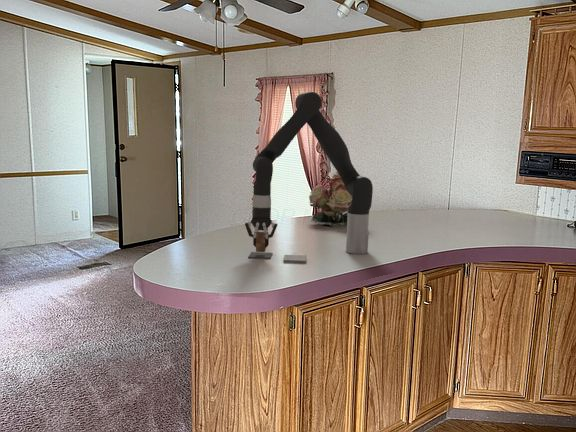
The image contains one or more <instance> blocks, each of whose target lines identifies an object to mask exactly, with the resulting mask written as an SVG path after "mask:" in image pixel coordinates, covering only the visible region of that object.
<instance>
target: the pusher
mask: <svg viewBox="0 0 576 432" xmlns="http://www.w3.org/2000/svg"><path fill="white" fill-rule="evenodd" d="M266 250H267V248H265V233H264V231H262V230H258V232H256V247H255V252H266Z"/></svg>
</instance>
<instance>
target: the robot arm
mask: <svg viewBox="0 0 576 432" xmlns="http://www.w3.org/2000/svg"><path fill="white" fill-rule="evenodd" d="M296 96H297V97H296V98H295V101H294V102H295V105H294V106H295V108H296V110H295V112H294V113H293V114H292V116H291V117H290V118H289V119H288V120H287V121H286V122H285V124H283V125H282V126H281V127H280V128H279V129H278V130H277V131H276V132H275V134H274V135H273V136H272V138H271V139H270V141H268V143H267V145H266V146H265V147H264V148H263V149H262V150H261V151H260V152H259V153H258V155H256V157H255V158H254V159H253V161H252V169H253V171H254V172H255V181H254V182H253V196H252V204H251V205H252V210H251V211H252V214H251V215H252V217H251V220H250V221H246V222H245V224H244V226H245V229H246V231H247V235H248V236H249V237H251V238H252V240H253V242H252V243H253V244H252V246H254V248H256V232H258V231H264V233H265V248H266V249H267V248H268V247H269V243H270V238H273V237H274V235H275V232H276V230H277V228H278V223H277V222H274V221H272V218H271V216H272V212H271V210H272V197H271V194H272V185H271V184H272V179H273V173H274V166H273V163H274V161H275V160H276V159H277V158H280V157H281V156H282V155H283V153H284V152H285V150H286V149H287V148H288V147H289V145H290V144H291V142H293V140H294V138H295V137H296V136H297V135H298V133H299V132H300V131H302V130H301V129H303V128H304V127H305V125H306V124H307V125H308V126H309V128H310V130H311V131H312V133H313V135H314V137H315V138H316V140H317V142H318V143H319V145H320V147H321V148H322V151H323V152H324V153H325V156H326V157H327V158H328V160H329V161H330V163H331V165H332V166H333V168H334V169H335V170H336V172H338V173H339V175H340V177H341V179H342V181H343V183H344V185H345V187H346V189H347V191H348V193H349V194H350V195H352V203H351V205H350V206H349V207H348V218H347V226H346V239H345V240H346V242H345V243H346V244H345V251H346V252H347V253H349V254H355V255H363V254H365V255H366V254H368V252H369V233H370V232H369V224H370V223H369V222H370V221H369V219H370V209H371V208H372V203H373V202H372V201H373V192H374V191H373V189H374V188H373V187H374V186H373V183H372V180H371V179H369V177H366V176H362V175H360V174H359V172H358V171H357V170H356V168H355V167H354V165H353V163H352V159H351V156H350V152H349V149H348V147H347V144H346V143H345V141H344V140H343V138H342V136H341V134H340V133H339V132H338V131H337V130H336V129H335V128H334V127H333V125H331V124H330V123H329V122H328V120H326V118H325V117H324V115H323V114H322V112H321V108H322V105H323V101H322V97H321V96H320V94H319V93H317V92H314V91H305V92H301V93H300V94H298V95H296ZM251 226H253V228H254V230H253V231H254V232H253V231H252V228H251ZM270 226H271V228H272V229H271V232H270V234H269V228H270Z"/></svg>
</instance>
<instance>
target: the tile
mask: <svg viewBox="0 0 576 432" xmlns="http://www.w3.org/2000/svg"><path fill="white" fill-rule="evenodd" d="M283 256H284V257H283V260H282V261H283V263H285V264H307V255H303V254H284V255H283Z"/></svg>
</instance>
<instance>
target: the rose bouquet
mask: <svg viewBox="0 0 576 432" xmlns="http://www.w3.org/2000/svg"><path fill="white" fill-rule="evenodd" d="M328 184H329V188H327V187H325V186H323V185H322V184H320V185H317V186H315V188H313V191H311V192H309V196H308V199H309V206H310V207H312V208H313V211H314V210H317V209H318V210H319V209H321V211H317V213H315V214H313V216H312V217H311V220H310V221H311V222H312V223H317V225H329V226H330V227H332V228H341V227H347V218H348V207H349V206H350V205H351V203H352V195H350V194H349V193H348V191H347V189H346V187H345V185H344V183H343V181H342V179H341V177H340V175H339V173H338V172H337V171H335V172H334V173H333V175H332V176H331V178H330V179H329V180H328ZM338 226H339V227H338ZM340 226H341V227H340Z"/></svg>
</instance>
